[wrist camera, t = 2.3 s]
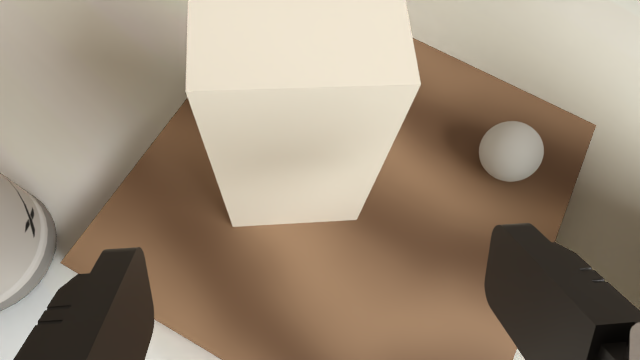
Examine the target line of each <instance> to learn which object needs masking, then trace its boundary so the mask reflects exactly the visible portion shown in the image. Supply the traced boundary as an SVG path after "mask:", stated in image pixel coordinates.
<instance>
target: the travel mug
mask: <svg viewBox="0 0 640 360" xmlns="http://www.w3.org/2000/svg"><path fill="white" fill-rule="evenodd" d="M55 248H56V229H55V224H54V221H53V219H52V217H51V214H50V212H49V211H48V210H47V208H46V207H45V206H44V204H42V203H41V202H40V201H39V200H37V199H36V198H35V197H34V196H32V195H31V194H29V193H28V192H27V191H25V190H24V189H22V188H20V187H19V186H18V185H17V184H15V183H14V182H12V181H11V180H10V179H8V178H7V177H5V176H4V175H2V174H1V173H0V311H1V310H4V309H6V308H8V307H10V306H12V305H13V304H15V303H17V302H18V301H20V300H21V299H22V298H24V297H25V296H26V295H28V294H29V293H30V292H31V291H32V290H33V289H34V288H35V287H36V286H37V285H38V284H39V282H40V281H41V280H42V278H43V277H44V275H45V274H46V272H47V271H48V268H49V266H50V264H51V262H52V260H53V256H54V252H55Z"/></svg>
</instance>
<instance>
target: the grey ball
mask: <svg viewBox="0 0 640 360" xmlns="http://www.w3.org/2000/svg"><path fill="white" fill-rule="evenodd" d="M543 155H544V146H543V142H542V140H541V137H540V136H539V134H538V133H537V132H536V131H535V130H534V129H533V128H532V127H530V126H529V125H527V124H525V123H522V122H517V121H507V122H502V123H499V124H497V125H495V126H493V127H492V128H491V129H490V130H488V131H487V132H486V134H485V135H484V136H483V138H482V140H481V143H480V146H479V158H480V161H481V164H482V166H483V168H484V169H485V170H486V171H487V172H488V173H489V174H490V175H491V176H493V177H494V178H496V179H499V180H502V181H507V182H514V181H520V180H523V179H525V178H527V177H529V176H530V175H532V174H533V173H534V172H535V171H536V170H537V169H538V167H539V166H540V164H541V162H542V159H543Z"/></svg>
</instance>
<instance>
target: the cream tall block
mask: <svg viewBox="0 0 640 360" xmlns="http://www.w3.org/2000/svg"><path fill="white" fill-rule="evenodd" d="M420 85H421V82H420V76H419V71H418V65H417V60H416V54H415V49H414V43H413V38H412V32H411V27H410V21H409V16H408V10H407V5H406V0H188V15H187V53H186V91H185V92H186V94H187V97H188V100H189V103H190V106H191V109H192V112H193V114H194V117H195V120H196V123H197V126H198V129H199V132H200V134H201V137H202V140H203V143H204V146H205V149H206V152H207V154H208V157H209V160H210V163H211V166H212V169H213V171H214V174H215V177H216V180H217V183H218V186H219V189H220V191H221V194H222V197H223V200H224V203H225V206H226V209H227V211H228V214H229V217H230V220H231V223H232V226H233V227H239V226H257V225H275V224H293V223H310V222H328V221H346V220H357V218H358V216H359V214H360V212H361V210H362V208H363V205H364V203H365V201H366V199H367V197H368V195H369V193H370V191H371V189H372V186H373V184H374V182H375V180H376V178H377V176H378V174H379V172H380V170H381V168H382V165H383V163H384V161H385V159H386V157H387V155H388V153H389V151H390V149H391V146H392V144H393V142H394V140H395V138H396V136H397V134H398V132H399V130H400V128H401V125H402V123H403V121H404V119H405V117H406V115H407V113H408V111H409V109H410V106H411V104H412V102H413V100H414V98H415V96H416V94H417V92H418V90H419V88H420Z"/></svg>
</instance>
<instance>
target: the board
mask: <svg viewBox="0 0 640 360" xmlns="http://www.w3.org/2000/svg"><path fill="white" fill-rule="evenodd" d="M413 43H414V49H415V54H416V60H417V65H418V71H419V76H420V82H421V85H420V88H419V90H418V92H417V94H416V96H415V98H414V100H413V102H412V104H411V106H410V109H409V111H408V113H407V115H406V117H405V119H404V121H403V123H402V125H401V128H400V130H399V132H398V134H397V136H396V138H395V140H394V142H393V144H392V146H391V149H390V151H389V153H388V155H387V157H386V159H385V161H384V163H383V165H382V168H381V170H380V172H379V174H378V176H377V178H376V180H375V182H374V184H373V186H372V189H371V191H370V193H369V195H368V197H367V199H366V201H365V203H364V205H363V208H362V210H361V212H360V214H359V216H358V218H357V220H346V221H328V222H310V223H293V224H275V225H257V226H239V227H233V226H232V223H231V220H230V217H229V214H228V211H227V209H226V206H225V203H224V200H223V197H222V194H221V191H220V189H219V186H218V183H217V180H216V177H215V174H214V171H213V169H212V166H211V163H210V160H209V157H208V154H207V152H206V149H205V146H204V143H203V140H202V137H201V134H200V132H199V129H198V126H197V123H196V120H195V117H194V114H193V112H192V109H191V106H190V103H189V100H188V98H187V99H186V100H185V102H184V103H183V104H182V106H181V107H180V108H179V109H178V111H177V112H176V113H175V115H174V116H173V117H172V119H171V120H170V121H169V122H168V124H167V125H166V126H165V128H164V129H163V130H162V132H161V133H160V134H159V135H158V137H157V138H156V139H155V141H154V142H153V143H152V144H151V146H150V147H149V148H148V150H147V151H146V152H145V154H144V155H143V156H142V157H141V159H140V160H139V161H138V163H137V164H136V165H135V167H134V168H133V169H132V170H131V172H130V173H129V174H128V176H127V177H126V178H125V180H124V181H123V182H122V183H121V185H120V186H119V187H118V189H117V190H116V191H115V192H114V194H113V195H112V196H111V198H110V199H109V200H108V202H107V203H106V204H105V205H104V207H103V208H102V209H101V211H100V212H99V213H98V215H97V216H96V217H95V218H94V220H93V221H92V222H91V224H90V225H89V226H88V227H87V229H86V230H85V231H84V233H83V234H82V235H81V237H80V238H79V239H78V240H77V242H76V243H75V244H74V246H73V247H72V248H71V250H70V251H69V252H68V253H67V255H66V256H65V257H64V259H63V260H62V261H61V262H60V263H61V264H63V265H65V266H66V267H68V268H70V269H71V270H73V271H75V272H76V273H78V274H86V273H90V272H91V270H92V268H93V267H94V265H95V263H96V261H97V260H98V258H99V256H100V254H101V253H102V251H103V250H105V249H118V248H133V247H140V248H142V250H143V252H144V256H145V261H146V266H147V272H148V277H149V283H150V288H151V294H152V299H153V305H154V319H155V320H157V321H158V322H160V323H162V324H163V325H165V326H167V327H168V328H170V329H172V330H173V331H175V332H177V333H178V334H180V335H182V336H183V337H185V338H187V339H188V340H190V341H192V342H194V343H195V344H197V345H199V346H200V347H202V348H204V349H205V350H207V351H209V352H210V353H212V354H214V355H215V356H217V357H219V358H220V359H222V360H513V358H514V355H515V352H516V349H517V347H516V345H515V344H514V342H513V341H512V339H511V338H510V336H509V335H508V333H507V332H506V330H505V329H504V327H503V326H502V324H501V323H500V321H499V320H498V319H497V317H496V316H495V314H494V313H493V311H492V310H491V308H490V306H489V304H488V302H487V299H486V295H485V287H484V282H485V274H486V268H487V261H488V254H489V247H490V241H491V235H492V231H493V229H494V227H495V226H496V225H503V224H518V223H530V224H532V225H533V226H534V227H536V228H537V229H538V230H539V231H540V232H541V233H542V234H543V235H544V236H545V237H546V238H547V239H548V240H549V241H550V242H555V239H556V237H557V234H558V231H559V228H560V225H561V223H562V220H563V217H564V214H565V211H566V208H567V206H568V203H569V200H570V197H571V194H572V192H573V189H574V186H575V183H576V180H577V178H578V175H579V172H580V169H581V166H582V163H583V161H584V158H585V155H586V152H587V149H588V147H589V144H590V141H591V138H592V135H593V132H594V130H595V127H596V125H594V124H592V123H590V122H588V121H586V120H584V119H582V118H580V117H578V116H576V115H573V114H571V113H569V112H567V111H565V110H563V109H561V108H559V107H557V106H555V105H552V104H550V103H548V102H546V101H544V100H542V99H540V98H538V97H536V96H534V95H531V94H529V93H527V92H525V91H523V90H521V89H519V88H517V87H515V86H513V85H511V84H508V83H506V82H504V81H502V80H500V79H498V78H496V77H494V76H492V75H490V74H487V73H485V72H483V71H481V70H479V69H477V68H475V67H473V66H471V65H469V64H467V63H464V62H462V61H460V60H458V59H456V58H454V57H452V56H450V55H448V54H446V53H443V52H441V51H439V50H437V49H435V48H433V47H431V46H429V45H427V44H425V43H423V42H420V41H418V40H416V39H414V38H413ZM507 121H517V122H522V123H525V124H527V125H529V126H530V127H532V128H533V129H534V130H535V131H536V132H537V133H538V134H539V136H540V137H541V140H542V142H543V146H544V155H543V159H542V162H541V164H540V166H539V167H538V169H537V170H536V171H535V172H534V173H533V174H532V175H530V176H529V177H527V178H525V179H523V180H520V181H514V182H507V181H502V180H499V179H496V178H494V177H493V176H491V175H490V174H489V173H488V172H487V171H486V170H485V169H484V168H483V166H482V164H481V161H480V158H479V146H480V143H481V140H482V138H483V136H484V135H485V134H486V132H487V131H488V130H490V129H491V128H492V127H493V126H495V125H497V124H499V123H502V122H507Z"/></svg>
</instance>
